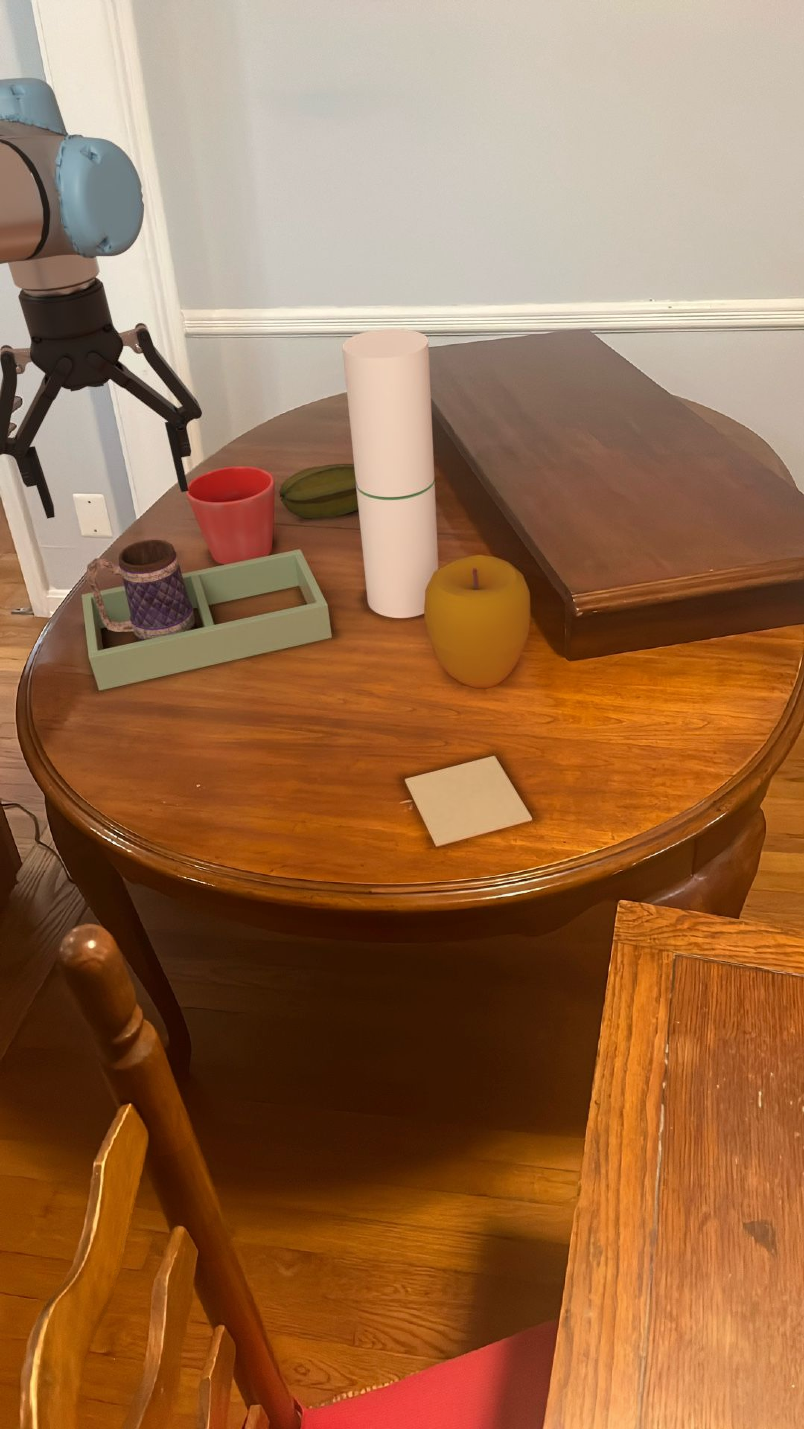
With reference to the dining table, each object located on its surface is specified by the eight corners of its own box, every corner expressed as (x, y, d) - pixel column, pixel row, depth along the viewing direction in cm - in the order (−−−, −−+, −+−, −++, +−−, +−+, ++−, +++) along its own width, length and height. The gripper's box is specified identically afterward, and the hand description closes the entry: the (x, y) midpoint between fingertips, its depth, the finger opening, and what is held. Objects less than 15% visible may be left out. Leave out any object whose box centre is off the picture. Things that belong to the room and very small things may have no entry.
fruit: (328, 485, 143) (323, 441, 139) (394, 505, 137) (391, 460, 133) (274, 518, 136) (267, 473, 132) (342, 540, 130) (336, 494, 126)
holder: (99, 691, 107) (88, 657, 104) (91, 626, 117) (81, 594, 115) (332, 638, 112) (327, 604, 110) (305, 580, 123) (300, 548, 120)
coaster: (436, 847, 86) (435, 844, 86) (404, 781, 93) (404, 778, 93) (532, 821, 88) (532, 818, 88) (494, 758, 95) (494, 755, 94)
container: (352, 603, 118) (324, 348, 99) (399, 572, 123) (381, 324, 104) (408, 627, 113) (389, 364, 94) (454, 593, 118) (445, 337, 99)
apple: (438, 639, 111) (433, 536, 103) (535, 646, 109) (538, 542, 101) (417, 699, 103) (410, 592, 95) (522, 708, 100) (524, 600, 92)
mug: (196, 619, 117) (175, 528, 110) (202, 652, 112) (180, 559, 104) (109, 636, 116) (81, 545, 108) (110, 670, 110) (81, 577, 103)
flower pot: (223, 529, 135) (210, 461, 128) (297, 537, 131) (287, 468, 125) (185, 568, 127) (169, 498, 121) (263, 578, 124) (250, 507, 118)
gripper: (191, 252, 94) (230, 461, 108) (-84, 294, 89) (-7, 507, 103) (203, 272, 89) (243, 490, 102) (-90, 318, 84) (-8, 540, 97)
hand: (117, 499), depth 102 cm, fingers open, 13 cm apart
